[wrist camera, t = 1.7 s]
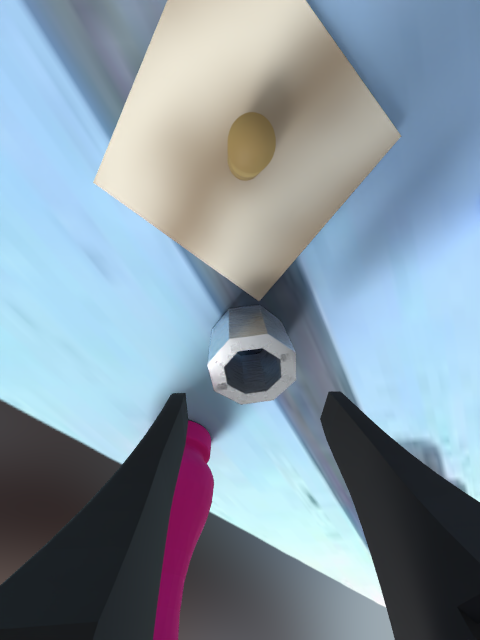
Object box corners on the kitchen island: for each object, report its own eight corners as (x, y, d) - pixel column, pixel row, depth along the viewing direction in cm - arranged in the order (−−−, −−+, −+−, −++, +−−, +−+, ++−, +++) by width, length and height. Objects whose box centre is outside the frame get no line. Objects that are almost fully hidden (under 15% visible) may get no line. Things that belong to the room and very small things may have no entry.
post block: (390, 140, 12) (462, 112, 8) (257, 297, 15) (266, 324, 12) (218, -96, 8) (212, -330, 5) (101, 183, 12) (47, 175, 8)
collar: (295, 330, 17) (313, 364, 13) (252, 373, 19) (258, 413, 15) (241, 292, 15) (246, 319, 12) (200, 343, 17) (193, 380, 13)
